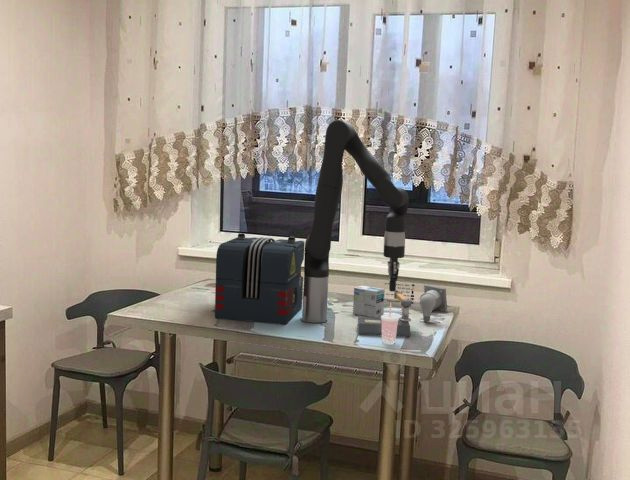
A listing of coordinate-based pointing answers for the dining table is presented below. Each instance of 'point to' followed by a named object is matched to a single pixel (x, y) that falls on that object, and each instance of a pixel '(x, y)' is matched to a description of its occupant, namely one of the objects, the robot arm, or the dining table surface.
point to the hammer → (402, 299)
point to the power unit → (259, 279)
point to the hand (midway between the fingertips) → (392, 291)
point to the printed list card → (435, 292)
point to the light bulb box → (368, 301)
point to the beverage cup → (389, 328)
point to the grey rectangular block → (375, 324)
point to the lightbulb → (427, 306)
